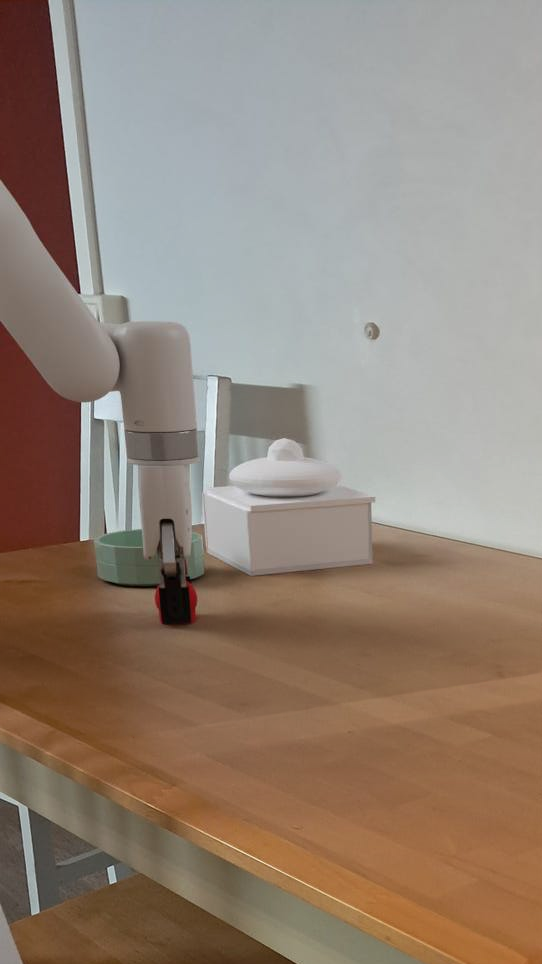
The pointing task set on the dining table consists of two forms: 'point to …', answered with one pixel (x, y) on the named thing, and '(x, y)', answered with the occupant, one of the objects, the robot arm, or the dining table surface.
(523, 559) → the dining table surface
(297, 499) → the white lidded box
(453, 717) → the dining table surface
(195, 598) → the strawberry
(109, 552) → the dessert bowl
